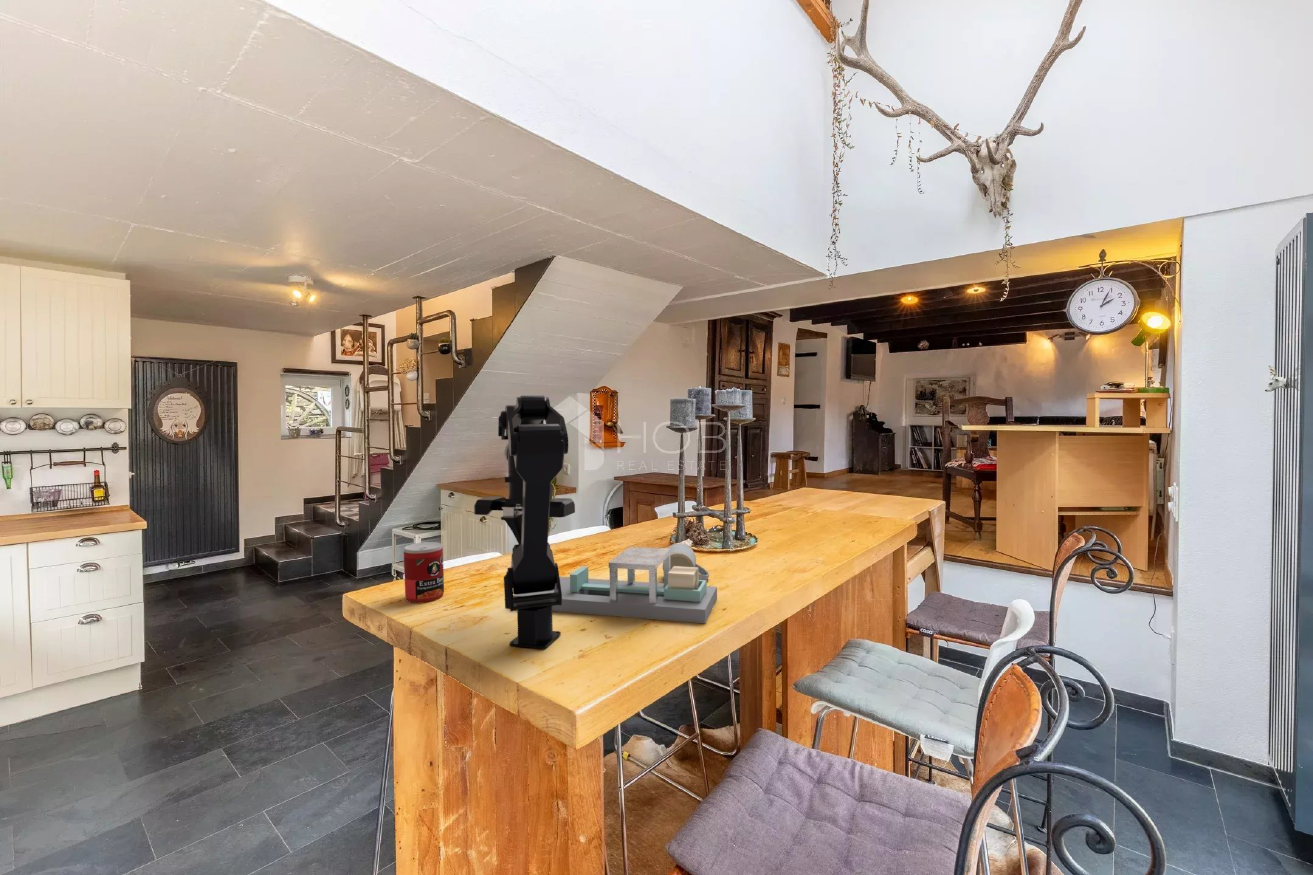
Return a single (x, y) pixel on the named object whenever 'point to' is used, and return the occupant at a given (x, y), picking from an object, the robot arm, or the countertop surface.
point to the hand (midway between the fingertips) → (525, 551)
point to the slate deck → (632, 603)
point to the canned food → (423, 571)
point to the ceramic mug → (685, 559)
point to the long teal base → (636, 588)
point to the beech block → (683, 578)
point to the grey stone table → (640, 568)
